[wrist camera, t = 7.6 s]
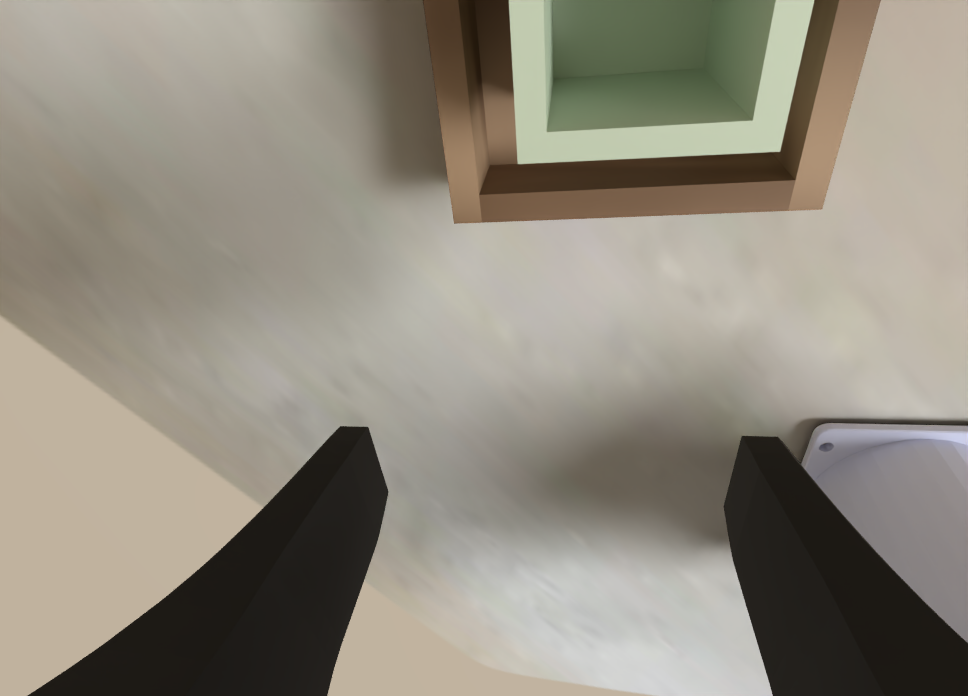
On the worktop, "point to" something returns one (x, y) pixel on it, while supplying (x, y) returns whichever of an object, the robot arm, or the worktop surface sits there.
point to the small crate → (653, 76)
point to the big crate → (643, 181)
